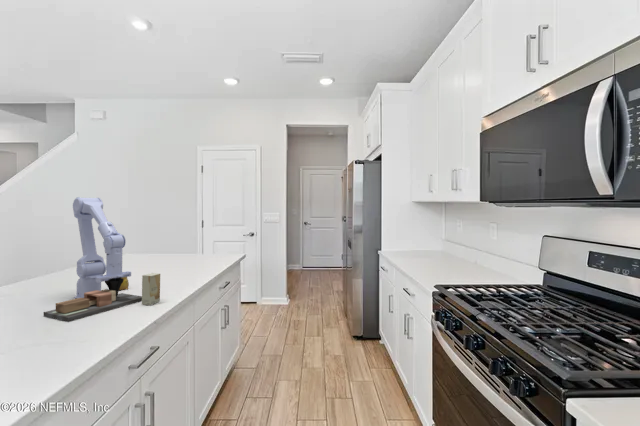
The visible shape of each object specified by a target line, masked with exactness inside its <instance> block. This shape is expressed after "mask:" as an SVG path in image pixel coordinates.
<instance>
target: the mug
mask: <svg viewBox="0 0 640 426" xmlns="http://www.w3.org/2000/svg"><path fill="white" fill-rule="evenodd" d="M121 279H124V281H123V283H122V284H121V286H120V289H119V291H125V290H128V289H129V280H128V279H129V278H128V277H123V278H121Z"/></svg>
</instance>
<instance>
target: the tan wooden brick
mask: <svg viewBox="0 0 640 426" xmlns="http://www.w3.org/2000/svg"><path fill="white" fill-rule="evenodd" d="M101 291H104V292H110V293H112V301H116V291H115V290H109V288H106V289H101ZM94 304H97V299H96V300H92V301H89V299H86V298H73V299H68V300H65V301H60V302H57V303H55V309H56V312H60V313H68V312H72V311H76V310H79V309H83V308H87V307H89V306H90V305H94Z"/></svg>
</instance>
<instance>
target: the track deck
mask: <svg viewBox="0 0 640 426" xmlns="http://www.w3.org/2000/svg"><path fill="white" fill-rule="evenodd" d="M84 298H86V299H89V301H92V300H96V299H97V304H94V305H90V306H89V307H87V308H83V309H79V310H76V311H72V312H68V313H60V312H56V308H55V309H52V310H47V311H44V312H43V317H44V318H49V319H55V320H58V321H63V322H67V323H69V322H73V321H76V320H80V319H83V318H87V317H91V316H95V315H98V314H101V313H102V314H103V313H105V312H109V311H111V310H115V309H116V310H117V309H119V308H121V307H125V306H129V305H133V304H137V303H140V302H142V295H134V294H129V293H123V292H121V293H118V295H117V297H116V301H112V293H110V292H104V291H98V290H95V291H91V292H86V293H84Z"/></svg>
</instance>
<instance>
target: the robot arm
mask: <svg viewBox="0 0 640 426" xmlns="http://www.w3.org/2000/svg"><path fill="white" fill-rule="evenodd" d="M103 209H104V202H103V200H102V199H101V197H80V196H78V197H76V198H74V200H73V203H72V211H73V215H74V218H76V219H77V223H78V230H79V237H80V243H81V250H82V256H81V258H79V259H78V260H77V261H76V275H77V276H78V277H79V279H78V280H77V282H76V295H75V296H74V299H77V298H84V293H86V292H91V291H95V290H98V291H101V290H102V282H104V283H105V285H106V287H107V289H108V290H115V291H116V297H117V295H118V294H119V291H120V290H119V289H120V286H121V284H122V283H123V281H124V279H121V278H123V277H127V278H128V277H129V278H130V277H132V271H123V248H124V247H126V242H127V241H126V237H125V236H124V234H121V233H120V232H118V231H117V229H116V227H115V226H114V223H112V222H111V221H108V219H107V217H106V214H105V212H104V210H103ZM93 219H94V220H95V222H96V223H97V224H98V226H97V230H98V232H99V234H100V236H102V239H103V242H102V244H103V247H104V252H105V254H106V256H105V257H106V258H105V260H106V263H105V261H104V257H103V256H101V255H99V254H97V246H96V239H95V233H94V226H93Z"/></svg>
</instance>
